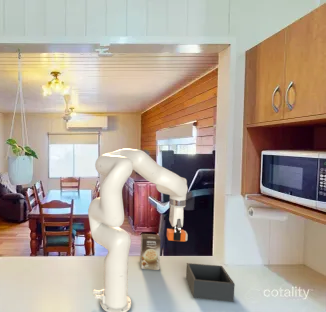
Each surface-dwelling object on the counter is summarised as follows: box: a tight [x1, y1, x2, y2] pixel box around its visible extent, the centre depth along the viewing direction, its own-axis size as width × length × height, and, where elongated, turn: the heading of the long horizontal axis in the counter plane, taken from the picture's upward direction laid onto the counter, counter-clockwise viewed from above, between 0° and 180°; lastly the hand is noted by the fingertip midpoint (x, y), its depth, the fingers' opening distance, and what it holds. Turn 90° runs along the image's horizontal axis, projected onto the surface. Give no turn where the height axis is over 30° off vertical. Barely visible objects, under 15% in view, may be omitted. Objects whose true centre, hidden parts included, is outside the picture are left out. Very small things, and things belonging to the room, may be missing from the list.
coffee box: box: [139, 233, 162, 271], centre depth 125 cm, size 9×6×16 cm
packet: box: [166, 228, 189, 242], centre depth 121 cm, size 9×5×4 cm, turn 82°
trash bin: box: [185, 262, 236, 303], centre depth 107 cm, size 16×14×8 cm
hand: (175, 237), depth 122 cm, fingers closed on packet, 5 cm apart
